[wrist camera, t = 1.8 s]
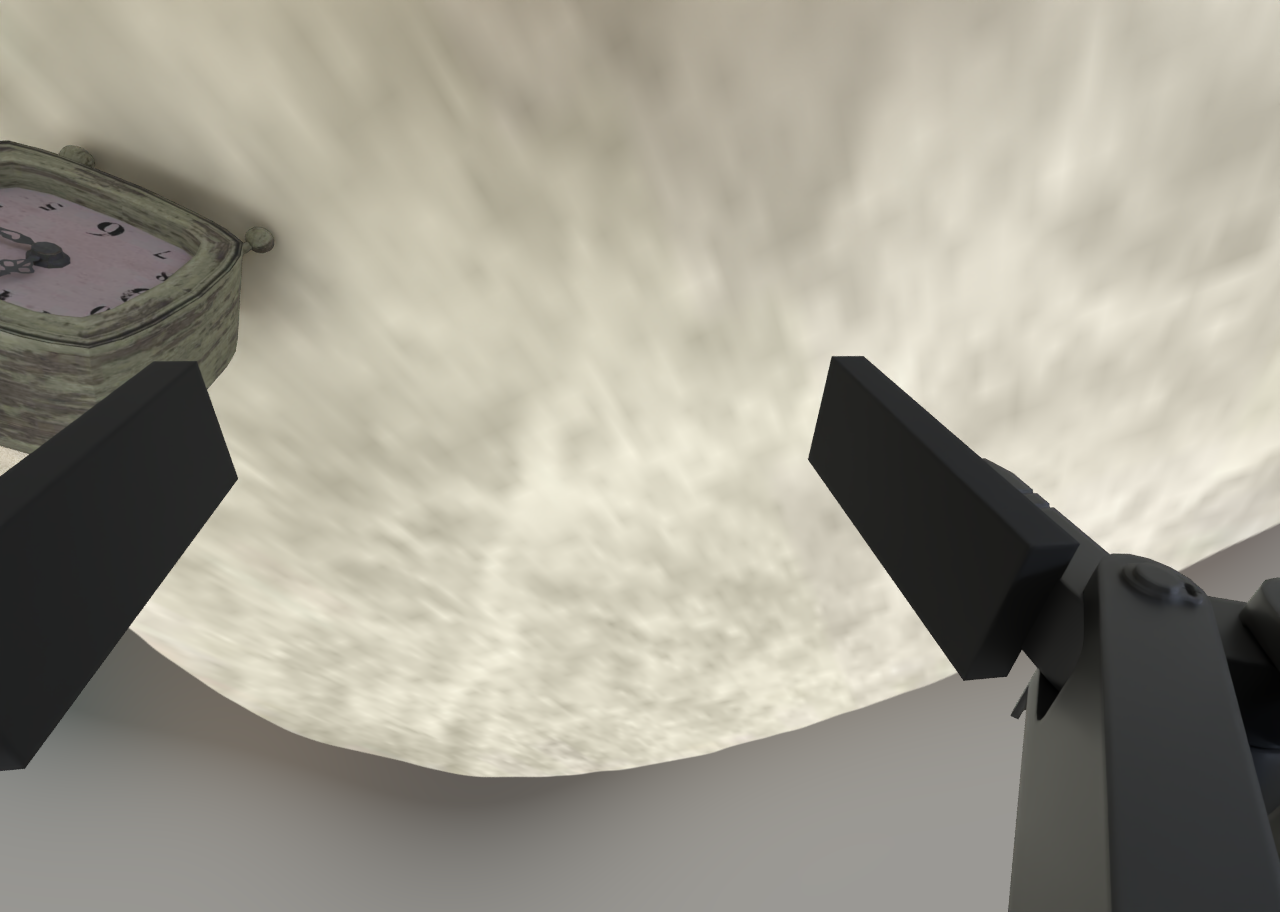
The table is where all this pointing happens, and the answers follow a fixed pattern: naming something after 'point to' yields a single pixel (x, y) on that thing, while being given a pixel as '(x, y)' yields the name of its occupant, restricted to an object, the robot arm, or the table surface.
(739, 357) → the table surface
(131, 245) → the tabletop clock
